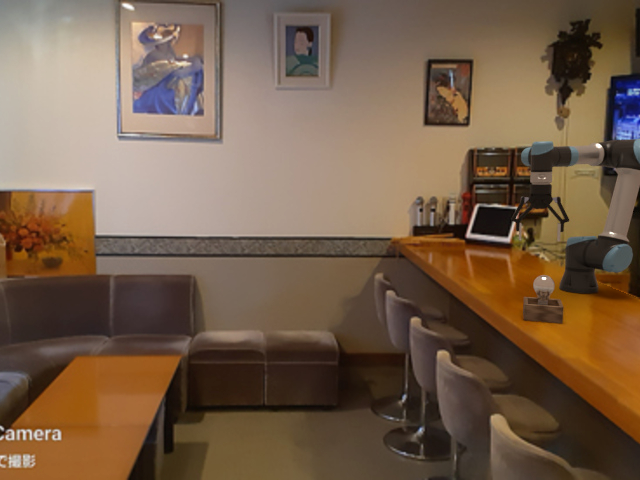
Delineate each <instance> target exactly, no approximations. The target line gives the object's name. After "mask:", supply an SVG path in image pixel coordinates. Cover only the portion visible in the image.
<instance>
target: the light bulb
mask: <svg viewBox="0 0 640 480" xmlns="http://www.w3.org/2000/svg"><path fill="white" fill-rule="evenodd" d="M532 284H533V285H532V287H533V290H534V291H535V293H536V298H538V305H547V304H548V300H549V299H550V298H551V297H550V296H551V295H552V294H553V292H554V290H555V281H554V280H553V278H552V277H551V276H549V275H545V274H542V275H538V276H537V277H536V278H535V279H534V280H533V283H532ZM547 306H548V305H547Z"/></svg>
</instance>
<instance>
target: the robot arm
mask: <svg viewBox="0 0 640 480" xmlns="http://www.w3.org/2000/svg"><path fill="white" fill-rule="evenodd" d="M520 160H521V163H522V164H523V165H524V166H527V167H530V175H529V176H530V178H529V179H530V180H529V181H530V183H531V184H529V196H528V197H527V196H526V197H525V196H521V197H520V202H519V204H518V206H517V207H516V209H515V211H514V213H513V215H512V217H511V218H510V219H511V220H510V221H511V222H513V223H515V231H516V232H518V241H522V230H523V229H522V228H523V227H522V226H523V224H522V220H523V219H524V218H525V217H526V216H527V215H528V214H529V213H530V212H531V211H532V210H533V209H535V210H539V209H541V210H545V209H548V210H549V211H550V212H551V213H552V214H553V216H554V217H555V218H556V219H557V221H558V222H557V231H556V233H557V234H556V241H557V242H560V241H561V233H563V232H564V231H565V229H564V228H565V223H568V222H570V217H569V216H568V214H567V212H566V210H565V208H564V206H563V204H562V200H561V199H562V198H561V197H560V196H559V195H558V196H556V197H555V196H552V187H553V185H552V182H553V168H554V167H555V168H556V167H557V168H558V167H559V168H560V167H561V168H562V167H563V168H564V167H565V168H568V167H572V166H575V165H589V166H591V167H605V168H612V169H615V170H614V171H615V172H616V173H617V177H616V182H615V185H614V188H613V193H612V197H611V201H610V205H609V208H608V212H607V216H606V220H605V222H604V227H603V230H602V232H601V233H599V234H597V235H596V236H595V235H585V236H581V235H580V236H570V237H568V238H567V240H566V246H565V261H564V263H565V265H564V266H565V267H564V272H563V274H562V277H561V279H560V282H559V289H560V290H561V291H564V292H570V293H573V294H574V293H575V294H595V293H598V292H599V284H598V280H597V276H596V270H599V271H600V270H601V271H605V272H608V273H621V272H623V271H624V270H626V269H627V268H628V267H629V266H630V264H631V263H632V260H633V256H634V253H633V249H632V247H631V246H630V240H629V239H628V231H629V228H630V223H631V220H632V217H633V213H634V212H633V211H634V209H635V205H636V201H637V197H638V193H639V190H640V138H635V139H634V138H632V139H627V138H626V139H614V140H613V139H612V140H607V141H601V142H600V141H599V142H592V143H590V144H588V145H564V146H561V145H560V146H559V145H558V146H554V142H553V141H552V140H550V141H548V140H547V141H533V142H532V144H531V146H530V147H526V148H524V149H523V150H522V152H521V154H520ZM553 201H554V203H555V204H556V205H557V207H558V209H559V211H560V213H561V215H562V216H563V218H562V217H561V215H559V213H557V211H556V210H555V209H554V208H553V206H552V205H551V203H552V202H553ZM527 202H529V203H530V204H529V205H528V206H527V208H526V209H525V210H524V211H523V212H522V213H521V215H519V214H520V212H521V210H522V208H523V207H524V204H526V203H527ZM518 216H519V217H518ZM517 217H518V218H517Z"/></svg>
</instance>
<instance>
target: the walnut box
mask: <svg viewBox="0 0 640 480" xmlns="http://www.w3.org/2000/svg"><path fill="white" fill-rule="evenodd" d="M547 305H548V306H547ZM547 305H538V298H537V297H532V296H531V297H530V296H523V306H522V307H523V308H522V314H523V321H527V322H528V320H529V322H539V321H541V322H540V323H553V324H563V321H564V305H563V302H562V299H559V298H549V300H548V304H547Z"/></svg>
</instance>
